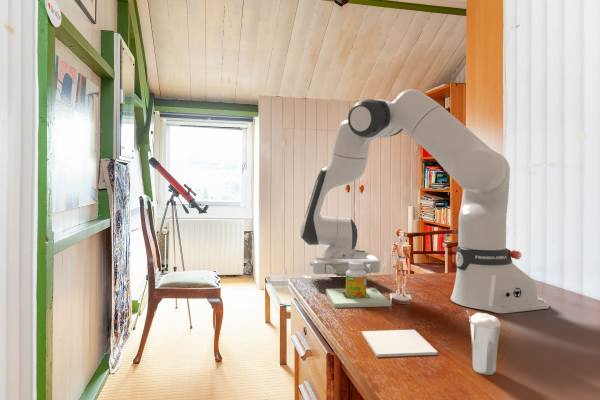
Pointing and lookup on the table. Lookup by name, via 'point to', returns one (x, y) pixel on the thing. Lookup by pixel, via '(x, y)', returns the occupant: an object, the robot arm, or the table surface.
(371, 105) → the robot arm
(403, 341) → the mat
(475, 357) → the milkshake
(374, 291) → the well board
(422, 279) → the table surface
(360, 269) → the supplement bottle
